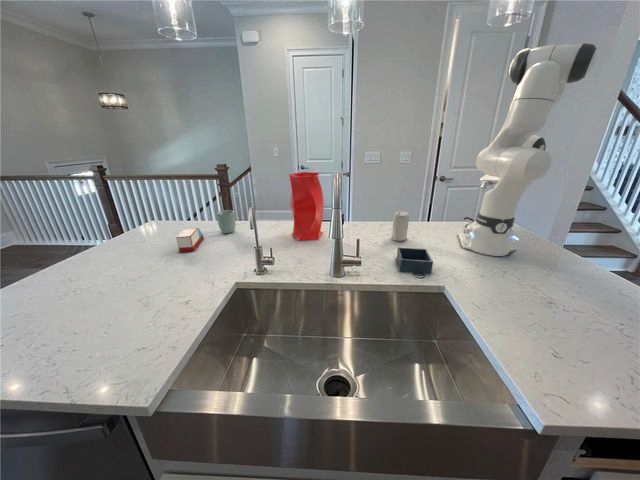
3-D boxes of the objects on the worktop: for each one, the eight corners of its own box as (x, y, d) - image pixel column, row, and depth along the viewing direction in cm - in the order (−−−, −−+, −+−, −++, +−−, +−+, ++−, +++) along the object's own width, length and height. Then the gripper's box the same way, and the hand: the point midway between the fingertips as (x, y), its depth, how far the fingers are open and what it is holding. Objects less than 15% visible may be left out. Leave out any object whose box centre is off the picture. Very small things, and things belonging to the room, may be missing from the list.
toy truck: (203, 237, 120) (200, 224, 117) (193, 251, 106) (190, 236, 103) (191, 238, 119) (188, 225, 117) (179, 252, 105) (175, 237, 103)
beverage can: (396, 235, 119) (398, 210, 115) (409, 239, 115) (412, 213, 110) (388, 239, 115) (391, 213, 111) (401, 243, 111) (404, 216, 106)
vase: (313, 228, 130) (312, 171, 119) (330, 236, 119) (330, 174, 108) (286, 234, 122) (282, 174, 112) (301, 244, 111) (298, 178, 100)
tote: (396, 258, 98) (397, 247, 96) (424, 260, 96) (426, 249, 94) (399, 271, 88) (401, 259, 86) (431, 273, 87) (433, 261, 85)
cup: (216, 234, 124) (213, 214, 120) (225, 228, 131) (221, 209, 127) (232, 235, 123) (228, 214, 119) (239, 229, 130) (236, 210, 126)
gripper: (490, 166, 132) (470, 182, 131) (531, 165, 113) (508, 184, 112) (494, 176, 134) (474, 192, 133) (535, 177, 115) (512, 195, 114)
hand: (490, 188), depth 122 cm, fingers open, 8 cm apart
